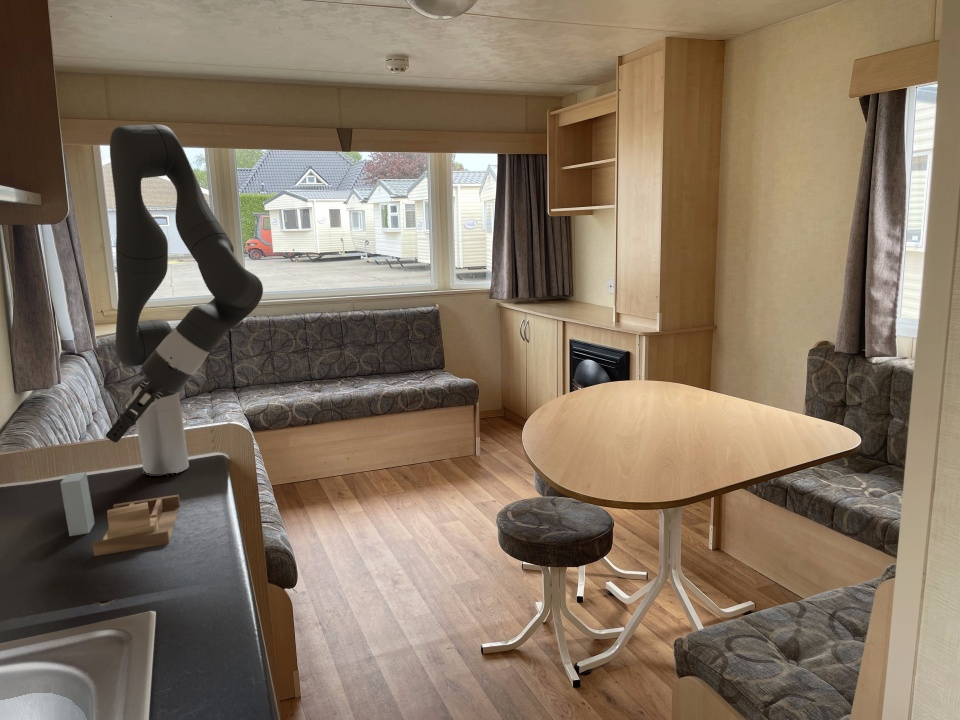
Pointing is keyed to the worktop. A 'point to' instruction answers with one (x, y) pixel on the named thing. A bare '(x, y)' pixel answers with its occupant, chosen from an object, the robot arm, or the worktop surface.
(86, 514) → the block
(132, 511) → the offcut top
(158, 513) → the rack
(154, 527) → the offcut low
